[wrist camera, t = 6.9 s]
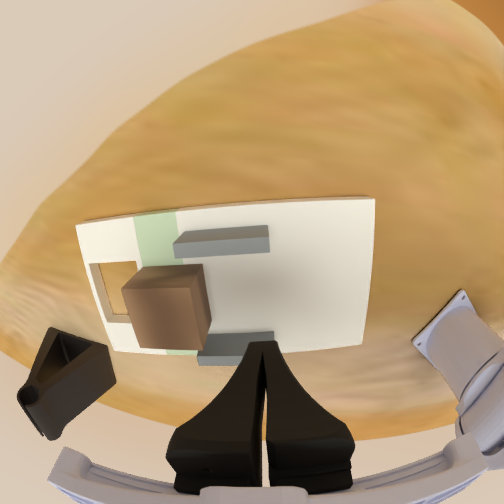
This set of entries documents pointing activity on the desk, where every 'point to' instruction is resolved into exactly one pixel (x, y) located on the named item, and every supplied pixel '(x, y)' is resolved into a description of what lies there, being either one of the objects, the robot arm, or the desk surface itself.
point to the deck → (256, 272)
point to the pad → (159, 245)
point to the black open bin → (64, 381)
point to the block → (169, 307)
